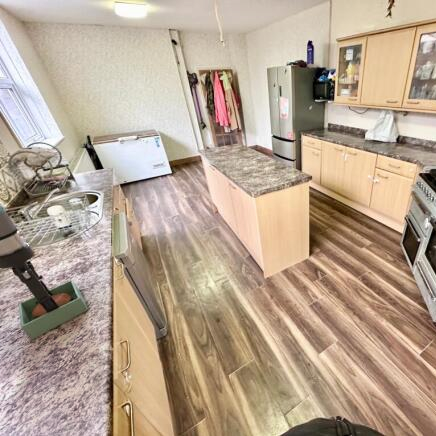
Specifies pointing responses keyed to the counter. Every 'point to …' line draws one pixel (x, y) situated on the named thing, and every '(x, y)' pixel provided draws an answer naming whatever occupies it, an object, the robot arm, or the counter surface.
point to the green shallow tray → (54, 317)
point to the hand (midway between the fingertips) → (51, 305)
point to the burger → (59, 299)
